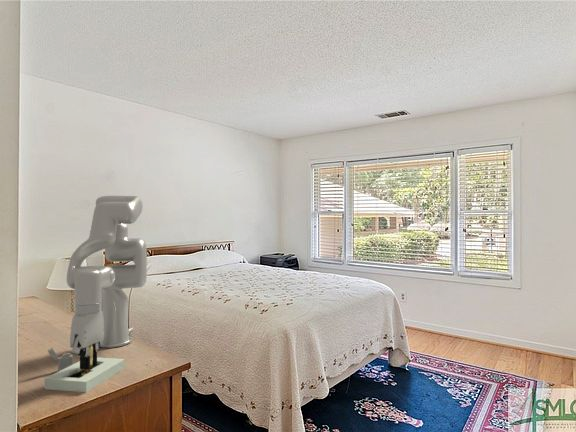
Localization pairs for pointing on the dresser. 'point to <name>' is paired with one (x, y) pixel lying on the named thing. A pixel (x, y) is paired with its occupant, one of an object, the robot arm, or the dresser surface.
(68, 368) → the board
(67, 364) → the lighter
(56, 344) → the dresser surface
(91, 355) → the peg
